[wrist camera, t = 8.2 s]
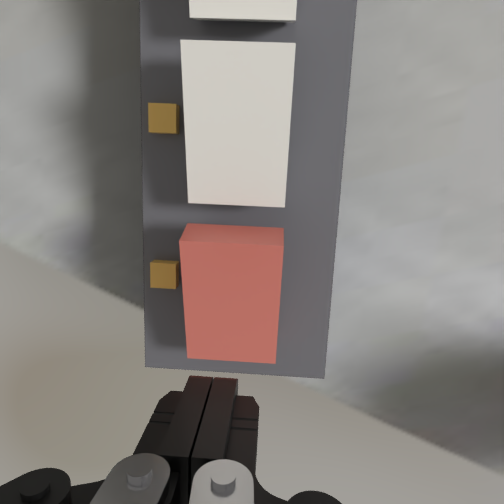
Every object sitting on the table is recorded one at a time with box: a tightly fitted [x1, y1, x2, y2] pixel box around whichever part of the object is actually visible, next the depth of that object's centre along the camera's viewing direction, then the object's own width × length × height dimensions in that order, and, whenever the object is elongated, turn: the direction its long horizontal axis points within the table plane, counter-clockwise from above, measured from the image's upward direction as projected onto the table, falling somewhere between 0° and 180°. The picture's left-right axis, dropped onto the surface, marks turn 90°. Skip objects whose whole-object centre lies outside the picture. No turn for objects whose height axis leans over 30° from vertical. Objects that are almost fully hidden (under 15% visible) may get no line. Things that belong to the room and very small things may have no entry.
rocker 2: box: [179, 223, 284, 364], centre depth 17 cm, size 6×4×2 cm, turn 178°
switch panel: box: [140, 0, 357, 379], centre depth 19 cm, size 24×9×5 cm, turn 178°
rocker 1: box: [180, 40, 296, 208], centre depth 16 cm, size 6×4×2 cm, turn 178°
